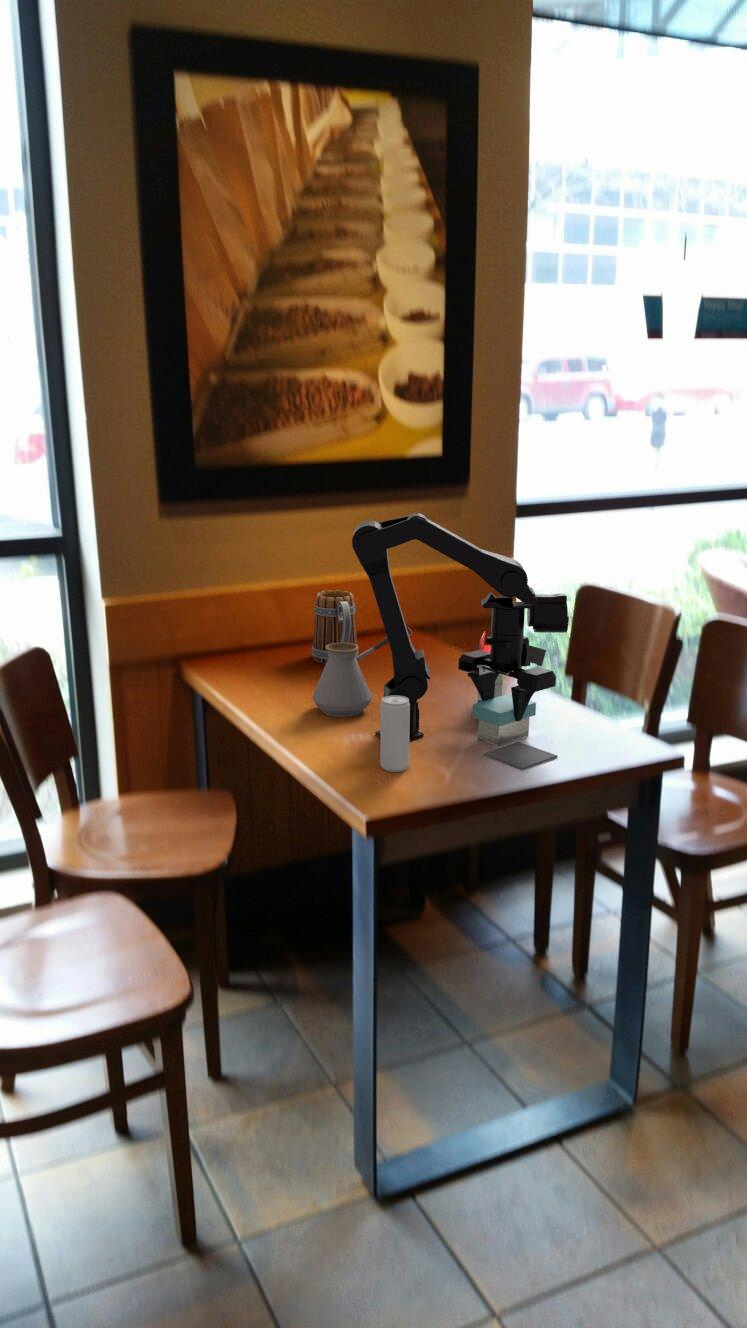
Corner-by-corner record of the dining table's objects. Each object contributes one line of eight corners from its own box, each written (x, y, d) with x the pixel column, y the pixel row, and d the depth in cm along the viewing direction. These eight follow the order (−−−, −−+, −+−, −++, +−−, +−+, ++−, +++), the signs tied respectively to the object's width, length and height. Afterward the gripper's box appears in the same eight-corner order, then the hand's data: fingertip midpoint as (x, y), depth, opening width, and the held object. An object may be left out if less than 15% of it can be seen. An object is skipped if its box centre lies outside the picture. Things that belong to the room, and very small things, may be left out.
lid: (499, 726, 189) (500, 713, 189) (472, 716, 194) (473, 704, 193) (535, 715, 195) (536, 702, 195) (508, 706, 200) (508, 693, 199)
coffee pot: (330, 724, 202) (330, 646, 198) (302, 707, 212) (301, 633, 208) (425, 706, 213) (427, 632, 209) (394, 690, 222) (395, 619, 218)
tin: (498, 745, 191) (499, 719, 190) (477, 738, 195) (478, 712, 194) (528, 735, 196) (529, 709, 195) (508, 728, 200) (509, 703, 199)
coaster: (521, 770, 180) (522, 767, 180) (482, 755, 187) (482, 753, 187) (557, 757, 186) (557, 755, 186) (517, 743, 193) (518, 741, 192)
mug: (306, 654, 248) (305, 590, 244) (350, 651, 251) (350, 587, 247) (324, 673, 234) (323, 605, 230) (370, 669, 237) (371, 602, 233)
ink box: (501, 716, 207) (504, 642, 203) (476, 715, 208) (478, 641, 204) (505, 703, 215) (508, 631, 211) (480, 701, 216) (483, 630, 212)
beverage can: (408, 762, 184) (408, 694, 180) (409, 773, 179) (410, 704, 176) (379, 762, 183) (379, 695, 180) (380, 773, 179) (381, 704, 175)
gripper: (578, 634, 189) (573, 719, 193) (499, 615, 202) (496, 695, 207) (536, 645, 182) (531, 733, 186) (457, 624, 195) (455, 706, 200)
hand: (504, 715), depth 195 cm, fingers closed on lid, 7 cm apart
